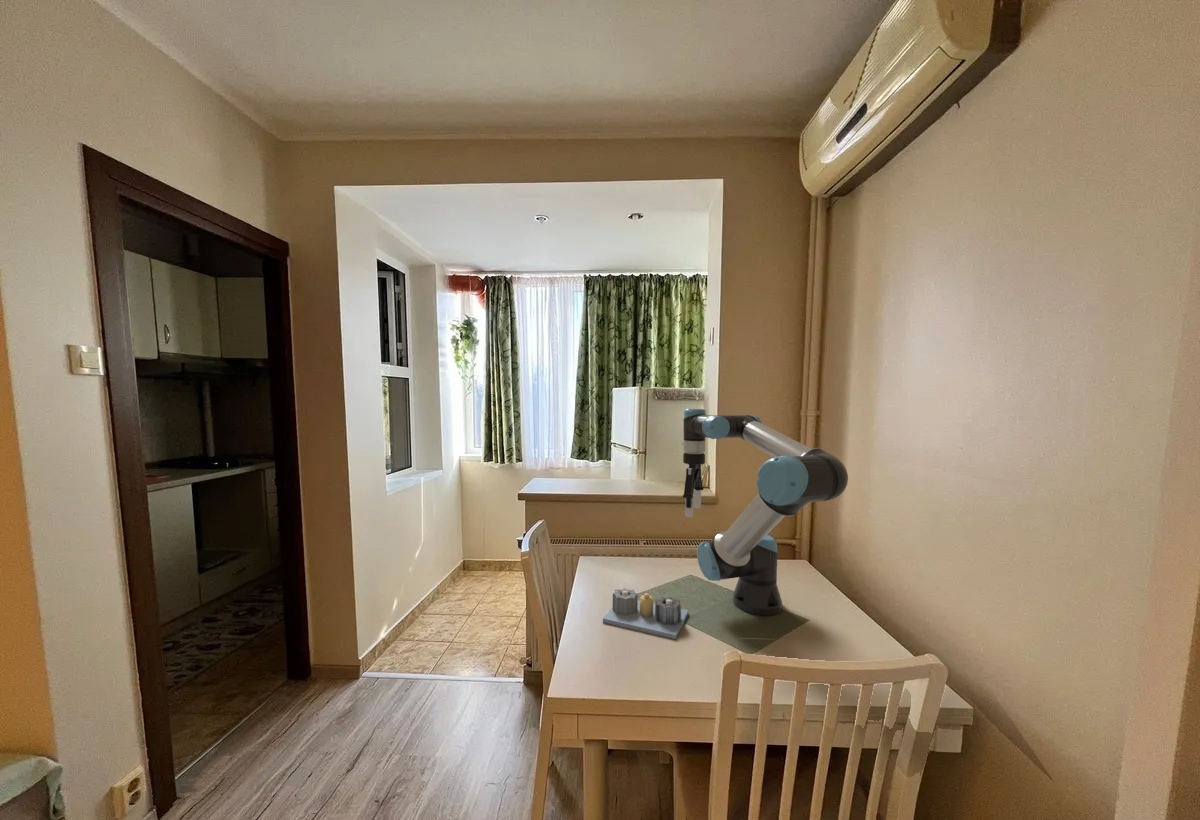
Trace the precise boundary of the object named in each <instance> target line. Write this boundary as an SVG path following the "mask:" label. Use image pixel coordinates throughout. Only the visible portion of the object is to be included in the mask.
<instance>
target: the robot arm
mask: <svg viewBox="0 0 1200 820" xmlns="http://www.w3.org/2000/svg"><path fill="white" fill-rule="evenodd" d="M706 412H707V411H706V410H705V409H704V408H685V410H684V411H683V419H682V421H683V442H682V443H681V445H682V446H683V455H682V461H683V464H686V465H688V468H687V467H686V468H685V469H686V471H685V482H684V490H683V494H682V498H683V499H684V517H686V518H691V519H692V518H694V509H700V510H701V509H702V491H704V487H703V477H702V465H705V464H706V453H705V452H706V438H708V439H710V440H711V439H712V440H721V439H724V438H725V439H729V438H730V439H731V438H734V439H735V438H738V439H741V440H744V441H746V442H747V443H749V444H750V445H752V446H754V447H755V448H757V449H759V450H760V451H762V452H764V453H765V454H767V455H769V456H771V457H772V458H769V459H768V460H766V461H764V462H763V464H762V465H761V466H760V468H759V469H758V472H757V477H758V478H757V479H756V486H757V487H756V488H757V494H756V496H755V497H754V498H753V499H752V500H751V502H749V504H748V505H747V507H745V509H744V510H743V511H742V512H741V514H740V515H739V516H738V517H737V518H736V520H735V521H733V523H732V524H731V525H730V527H729V528H728V529H727V530H722V531H719V532H718V533H717V534H716V535H715V536H714V537H713V539H712V540H710V541H707V540H706V541H702V542H700V543H699V544H698V546H697V549H696V556H697V557H696V558H697V563H698V566H699V569H700V571H701V573H702V575H703V576H704V578H706V580H708V581H710V582H711V581H712V582H714V581H717V582H719V581H722V580H723V581H724V580H727V579H728V580H730V579H735V578H736V579H737V578H738V580H737V582H736V584H735V585H736V586H735V588H734V590H733V594H732V603H733V605H734V606H735V607H736V608H737V609H739V610H741V611H743V612H745V613H749V614H751V615H757V616H763V617H764V616H765V617H766V616H775V615H777V614H780V613H781V612H782V610H783V600H782V597H781V594H780V590H779V587H778V584H777V582H778V581H777V580H778V577H777V576H778V575H777V574H778V553H779V551H778V542H777V540H776V539H775V538H774V537H773V536H771V535H769V533H770V532H771V531H772V530H773V529H774V528H775V527H776V526H777V525H778V524H779V523H780V522H781V521H782V520H783V519H784V517H792V516H795V515H797V514H798V512H800V511H801V510H802V509H803V508H804V507H805V506H806V505H808V504H809V503H817V502H827V501H832V500H834V499H836V498H838V497H840V495H842V494H843V493H844V492H845V491H846V488H847V486H848V482H849V475H848V471H847V468H846V466H845V465H844V463H843V462H842V461H841V460H840V459H839V458H838V457H836V456H834V455H833V454H831V453H829V452H827V451H825V450H823V449H821V448H817V447H814V448H811V447H808V446H807V445H805V444H803V443H801V442H799V441H797V440H794V439H793V438H791V437H789V436H787V435H785V434H784V433H781V432H779V431H778V430H775V429H773V428H772V427H769V426H767V425H765V424H763V421H762V420H761V418H760V417H759V416H757V415H752V414H751V415H750V414H737V415H731V414H730V415H724V414H723V415H720V414H719V415H714V414H711V415H710V414H708V415H707V413H706Z"/></svg>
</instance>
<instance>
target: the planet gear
mask: <svg viewBox="0 0 1200 820" xmlns="http://www.w3.org/2000/svg"><path fill="white" fill-rule="evenodd" d="M667 599H670V600H672V605H666V600H667ZM654 601H655V602H654V603H655V617H656V621H657V622H661V623H663V625H667V624H672V625H676V623H678V622H681V609H682V604H681V599H676V598H674V597H673V596H669V597H668V596H667V597H666V596H665V597H664V596H660V598H657V599H655V600H654Z"/></svg>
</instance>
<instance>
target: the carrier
mask: <svg viewBox="0 0 1200 820" xmlns="http://www.w3.org/2000/svg"><path fill="white" fill-rule="evenodd" d="M638 594H639V593H638V592H635V590H634V589H632V588H631V589H630V588H629V589H627V588H625V587H623V588H620V589H618V588H616V589H615V590H614V592H612V607H611V609H610V610H608V612H607V613H606V614H605V615H604V617H603V618H602V623H604V624H609V625H612V626H615V627H616V626H617V627H621V628H625V629H629V630H634V631H636V632H637V631H638V632H642V633H647V634H651V635H654V636H658V637H659V636H660V637H664V638H667V639H672V640H676V639H677V637H678V636H679V634H680V632H681V630H682V628H683V625H684V624H685V621H686V619H687V618H688V615H689V609H686V608H685V609H684V608H681V622H678V623H676V625H672V624H667V625H663V623H661V622H657V621H656V617H655V602H654V597H653V596H652V595H650V594H649V593H644V594H642V595H640V597H638ZM638 598H639V599H638ZM666 605H672V600H670V599H667V600H666Z"/></svg>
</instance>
